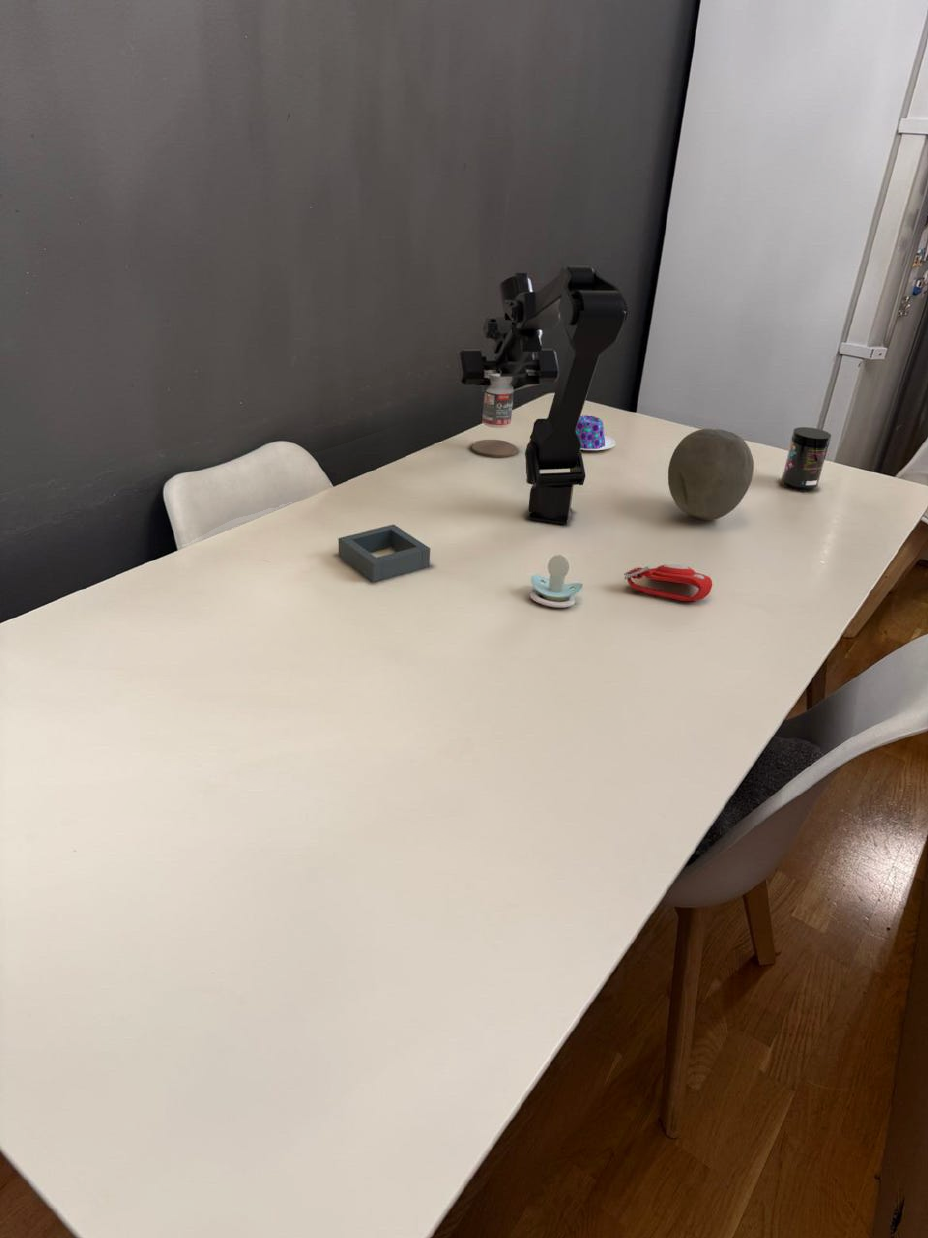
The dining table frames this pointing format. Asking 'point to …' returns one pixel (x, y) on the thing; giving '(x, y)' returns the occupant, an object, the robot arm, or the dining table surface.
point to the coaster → (494, 448)
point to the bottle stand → (376, 569)
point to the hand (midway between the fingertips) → (497, 389)
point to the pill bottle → (498, 402)
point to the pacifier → (555, 585)
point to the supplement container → (805, 458)
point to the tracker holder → (672, 580)
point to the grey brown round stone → (710, 473)
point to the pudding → (592, 434)
